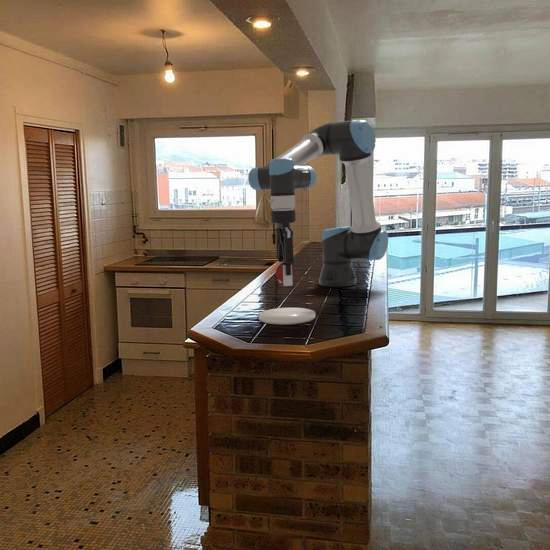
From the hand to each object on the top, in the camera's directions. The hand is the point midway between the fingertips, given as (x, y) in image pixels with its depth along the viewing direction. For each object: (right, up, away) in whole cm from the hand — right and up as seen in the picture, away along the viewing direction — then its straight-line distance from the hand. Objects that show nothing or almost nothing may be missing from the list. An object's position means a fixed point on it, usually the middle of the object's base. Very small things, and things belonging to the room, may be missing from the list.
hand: (285, 283), depth 186 cm
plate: (+1, -11, +2) cm, 11 cm away
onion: (0, -1, 0) cm, 0 cm away
